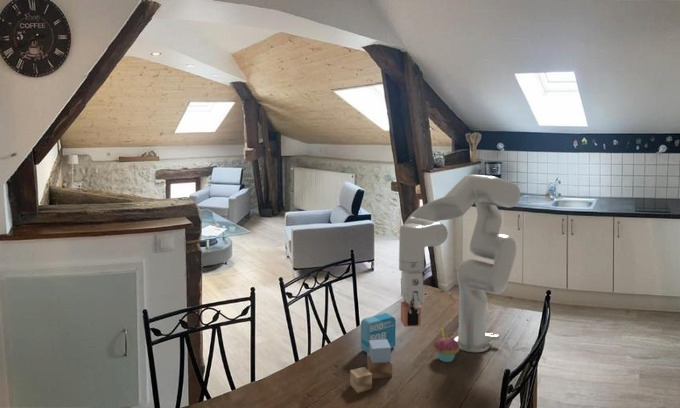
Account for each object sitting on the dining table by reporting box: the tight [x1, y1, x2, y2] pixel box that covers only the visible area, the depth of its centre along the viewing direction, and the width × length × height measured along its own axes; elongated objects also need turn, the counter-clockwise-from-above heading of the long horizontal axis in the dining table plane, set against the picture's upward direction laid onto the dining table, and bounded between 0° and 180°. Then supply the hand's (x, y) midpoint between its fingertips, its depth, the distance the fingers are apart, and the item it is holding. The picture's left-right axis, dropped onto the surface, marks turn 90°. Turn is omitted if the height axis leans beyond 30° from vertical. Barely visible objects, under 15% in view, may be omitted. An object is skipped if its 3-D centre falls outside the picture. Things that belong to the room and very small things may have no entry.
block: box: [349, 366, 373, 394], centre depth 153 cm, size 5×5×5 cm
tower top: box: [369, 339, 392, 363], centre depth 160 cm, size 6×6×5 cm
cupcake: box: [433, 327, 460, 363], centre depth 169 cm, size 9×8×12 cm
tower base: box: [366, 353, 393, 379], centre depth 161 cm, size 7×7×5 cm
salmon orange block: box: [400, 301, 422, 328], centre depth 153 cm, size 5×5×6 cm
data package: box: [360, 312, 397, 354], centre depth 176 cm, size 12×4×12 cm, turn 120°
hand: (410, 320), depth 154 cm, fingers closed on salmon orange block, 5 cm apart
